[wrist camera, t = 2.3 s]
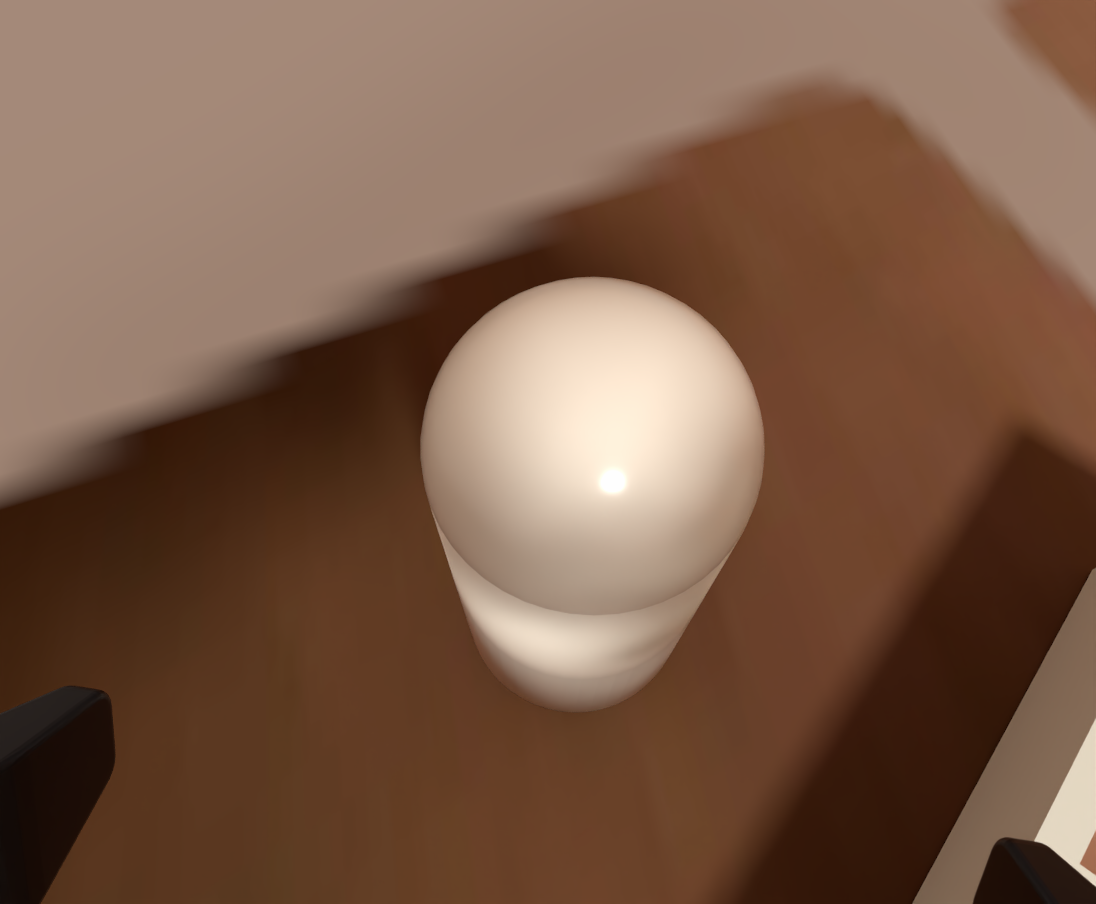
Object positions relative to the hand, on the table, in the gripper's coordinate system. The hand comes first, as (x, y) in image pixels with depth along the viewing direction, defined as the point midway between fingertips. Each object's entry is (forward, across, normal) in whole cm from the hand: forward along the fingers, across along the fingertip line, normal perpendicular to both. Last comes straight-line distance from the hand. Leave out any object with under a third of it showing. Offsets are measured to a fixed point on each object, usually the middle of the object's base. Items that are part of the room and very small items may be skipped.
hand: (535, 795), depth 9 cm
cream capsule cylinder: (+12, 0, +5) cm, 13 cm away
